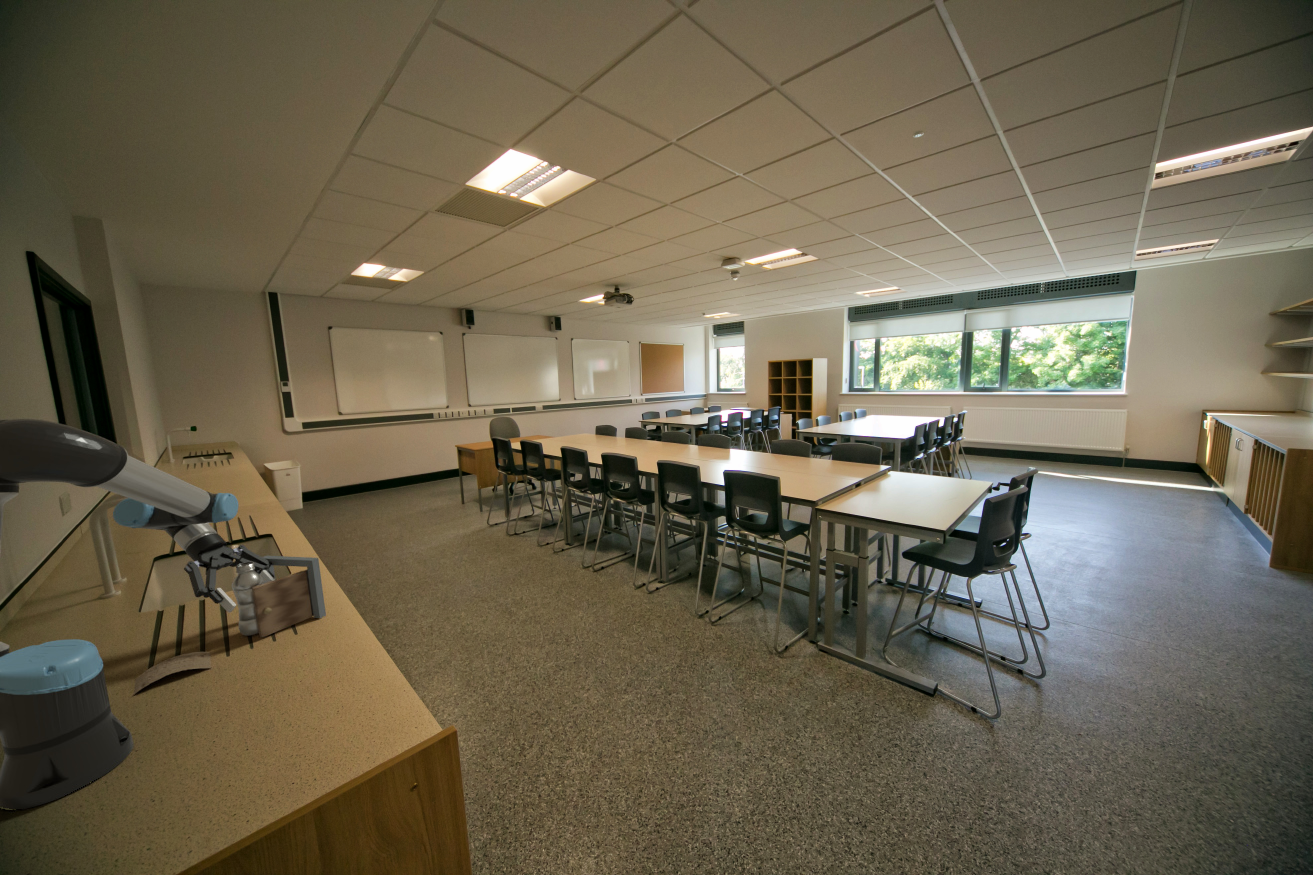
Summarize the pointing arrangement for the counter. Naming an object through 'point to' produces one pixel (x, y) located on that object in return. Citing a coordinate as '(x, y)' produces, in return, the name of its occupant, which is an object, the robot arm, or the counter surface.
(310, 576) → the door frame
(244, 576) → the silver metal bottle
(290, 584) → the door
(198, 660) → the clay tablet
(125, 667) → the counter surface
